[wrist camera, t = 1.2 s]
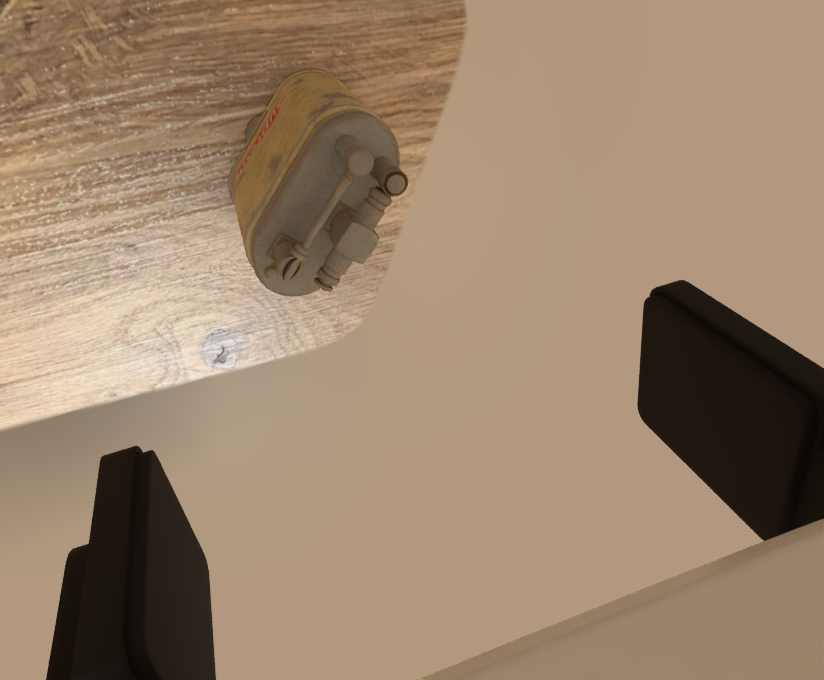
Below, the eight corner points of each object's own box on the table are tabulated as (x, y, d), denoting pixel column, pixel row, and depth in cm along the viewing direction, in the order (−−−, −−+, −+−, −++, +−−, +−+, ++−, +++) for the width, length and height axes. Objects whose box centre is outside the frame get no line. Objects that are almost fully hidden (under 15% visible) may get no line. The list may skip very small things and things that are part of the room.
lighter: (283, 235, 30) (325, 343, 22) (206, 195, 28) (221, 297, 20) (367, 99, 28) (446, 163, 20) (291, 45, 26) (344, 92, 18)
